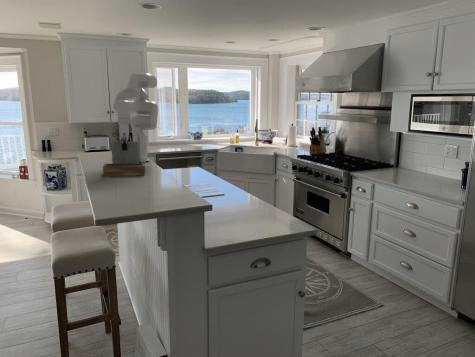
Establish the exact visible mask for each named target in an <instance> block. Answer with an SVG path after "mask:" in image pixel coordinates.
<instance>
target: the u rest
mask: <svg viewBox="0 0 475 357" xmlns="http://www.w3.org/2000/svg"><path fill="white" fill-rule="evenodd" d="M132 175H145V176H146V162H141V163H124V164H112V163H104V165H103V166H102V177H105V178H106V177H107V176H109V177H133V176H132Z"/></svg>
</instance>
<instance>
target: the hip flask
mask: <svg viewBox="0 0 475 357" xmlns="http://www.w3.org/2000/svg"><path fill="white" fill-rule="evenodd" d="M111 158H112V162H111V164H124V163H139V144H138V141H133V140H131V141H129V139H128V140H127V150H122V140H116V141H111Z"/></svg>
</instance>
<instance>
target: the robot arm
mask: <svg viewBox="0 0 475 357" xmlns="http://www.w3.org/2000/svg"><path fill="white" fill-rule="evenodd" d="M157 85H158V80H157V77H156V76H155V75H154V74H151V73H146V72H141V73H140V72H135V73H132V74H131V75H130V76H129V79H128V82H127V85H126V87H125V88H124V89H121V91H119V92H118V93H117V94H116V95H115V98H114V100H113V105H112V106H113V107H112V108H113V110H114V111H115V112H117V113H116V114H117V124H118V125H119V126H118V128H119V141H122V150H127V140H128V141H129V137H130V127H131V134H132V141H138V144H139V162H141V163H147V162H146V161H149V160H150V158H148V136H147V134H146V132H145V131H153V130H156V129H157V124H158V115H159V106H158V103H157V102H156V101H151V100H149V94H148V93H147V91H146V90H145V89H154V88H156V87H157ZM133 98H135V100H133ZM131 99H132V100H131ZM131 113H134V114H136V115H133V116H132V117H131ZM149 162H150V161H149Z"/></svg>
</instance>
